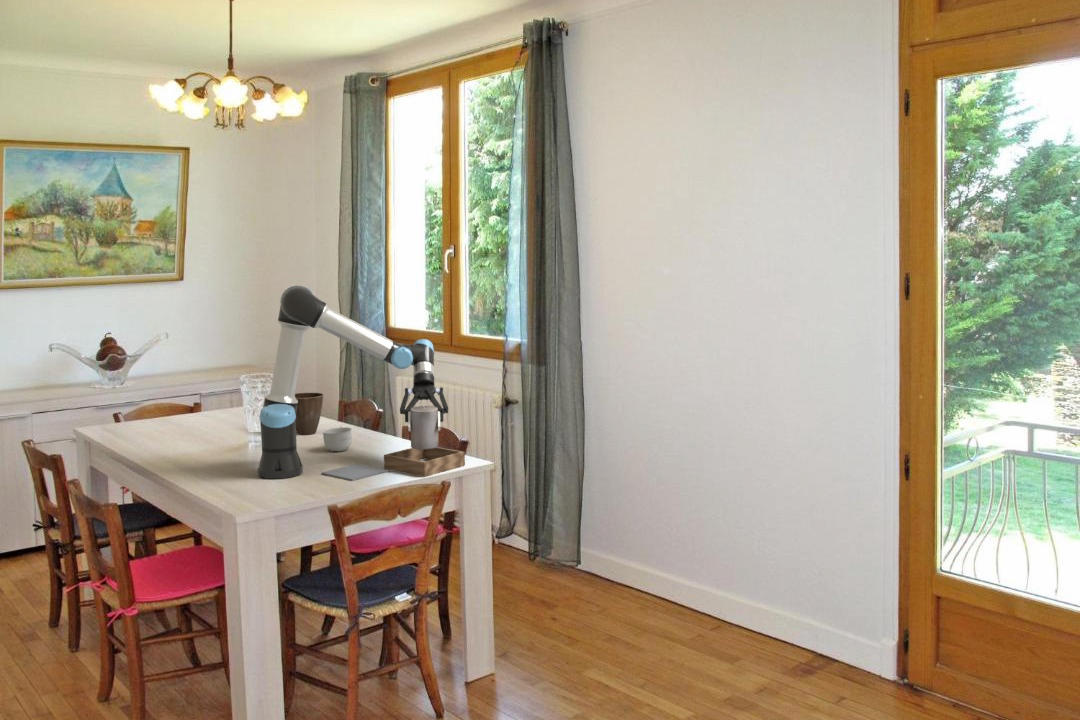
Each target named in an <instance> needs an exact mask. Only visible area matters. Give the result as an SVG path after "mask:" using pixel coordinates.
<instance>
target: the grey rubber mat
mask: <svg viewBox="0 0 1080 720" xmlns="http://www.w3.org/2000/svg"><path fill="white" fill-rule="evenodd" d="M388 472H389V470H388V469H384V468H380V467H376V466H369V465H365V464H362V463H361V464H360V463H354V464H351V465H350V464H349V465H346V466H343V467H341V466H340V467H338V468H334V469H330V470H329V469H328V470H326V471H322V472H321V475H323V474H325V475H324V476H327V475H330V476H329V477H332V476H334V477H333V478H337V477H338V478H337V479H341V478H342V480H347V481H351V482H354V481H357V480H361V479H365V478H368V477H372V476H376V475H379V474H384V473H388Z"/></svg>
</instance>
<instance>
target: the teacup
mask: <svg viewBox="0 0 1080 720" xmlns="http://www.w3.org/2000/svg"><path fill="white" fill-rule="evenodd" d="M322 435H323V436H322V437H323V444H324V447H325V448H326V449H327V450H328V451H330V452H333V451H338V452H343V451H346V450H349V448H350V447H351V446H352V443H353V436H352V435H353V433H352V428H351V427H348V426H347V427H344V426H339V427H332V428H327V429H325V430H323V431H322Z"/></svg>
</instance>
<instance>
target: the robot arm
mask: <svg viewBox="0 0 1080 720" xmlns="http://www.w3.org/2000/svg"><path fill="white" fill-rule="evenodd" d="M277 323H278V324H279V325H280V326H281V328H280V332H279V338H278V344H277V348H276V349H277V350H276V355H275V363H274V369H273V375H272V379H271V380H272V381H271V385H270V390H269V393H267V394H266V395H265V396H264V399H263V400H264V402H263V406H262V408H261V409H260V412H259V413H260V414H259V421H260V437H261V438H260V439H261V456H260V459H259V463H258V467H257V476H258V477H259V476H260V477H259V478H261V477H264V478H263V479H268V478H280V479H287V477H289V478H294V477H297V475H298V476H301V473H302V474H303V473H304V465H303V464H302V460H301V458H300V456H299V452H298V448H297V445H298V444H297V431H296V421H295V418H296V411H297V405H298V401H297V399H296V398H295V394H296V390H297V384H298V379H299V378H298V377H299V373H300V366H301V361H302V355H303V351H304V344H305V339H306V331H307V330H309V329H310V328H312V329H317V328H319V329H321V330H323V331H325V332H327V333H329V334H331V335H333V336H334V337H337V338H339V339H341V340H343V341H345V342H347V343H349V344H351V345H353V346H355V347H356V348H358V349H361V350H363V351H364V352H367V353H368V354H371V355H372V356H374V357H376V358H379V360H380V361H381V362H383V363H387V364H390V365H392V366H394V368H395V369H400V370H406V369H409V367H410V366H413V377H412V378H413V379H412V380H413V381H412V382H413V385H412V386H413V387H412V388H408V387H405V388H404V396H403V397H402V401H401V403H400V406H399V413H400V415H404V422H405V423H407V425H408V426H407V427H408V432H411V418H410V409H411V408H413V407H416V404H418V402H419V401H423V400H424V401H428V400H429V402H430V403H431V404H432V406H433V407H437V408H438V432H440V431H441V423H443V422H444V415H445V414H449V406H448V403H447V401H446V397H445V395H444V388H443V387H440V388H436V387H435V350H434V344H433V342H432V341H430V340H429V339H427V338H426V339H425V338H422V339H417V340H416V341H414V343H413V344H410V343H409V344H408V343H401V342H396V341H393V340H392V339H390V338H388V337H386V336H384V335H382V334H380V333H378V332H377V331H374V330H373V329H370V328H368V326H364V325H362V324H360V323H358V322H357V321H355V320H353V319H351V318H349V317H347V316H345V315H344V314H342V313H339V312H337V311H336V310H334V309H332V308H330V307H329V306H328V303H326V302H324V301H323V300H321V299H319V298H318V297H317V296H315V295H314V293H313V292H312V290H310V289H309V288H307V286H302V285H292V286H290V287H288V288H287V289H285V290H284V291H283V292H282V294H281V297H280V306H279V312H278V318H277ZM411 394H413V397H412V399H411V400H410V402H409V403H408V400H409V396H411ZM435 394H437V395H438V396H439V400H440V402H441V404H440V403H439V401H438V400H437V398H436V397H435ZM407 403H408V405H407ZM406 406H407V407H406ZM293 476H294V477H293Z"/></svg>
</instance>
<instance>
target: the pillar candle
mask: <svg viewBox="0 0 1080 720" xmlns="http://www.w3.org/2000/svg"><path fill="white" fill-rule="evenodd" d="M410 418H411V431H410V448H414V449H421V450H423V449H433V448H437V447H439V431H438V408H437V407H435V406H434V405H425V404H423V405H419V406H418V405H417V406H414V407H413V408H411V409H410Z"/></svg>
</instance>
